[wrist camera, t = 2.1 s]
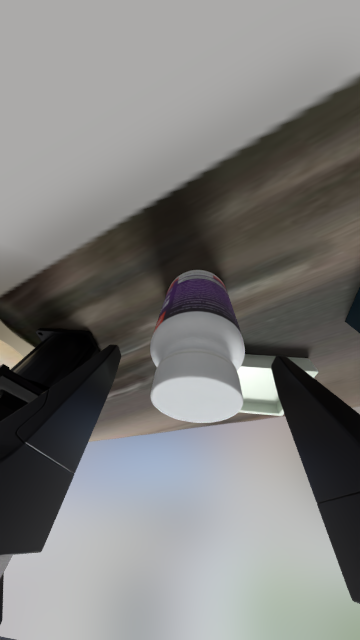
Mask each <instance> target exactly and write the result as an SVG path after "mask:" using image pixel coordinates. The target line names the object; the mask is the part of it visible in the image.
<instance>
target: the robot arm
mask: <svg viewBox="0 0 360 640" xmlns="http://www.w3.org/2000/svg"><path fill="white" fill-rule="evenodd" d="M36 334H37V335H38V337H39V338H40V339H41V341H42V342H41V343H40V344H39V345H38V346H37V347H36V348H35V349H33V350H32V351H31V352H30V353H29V354H28V355H27V356H25V357H24V358H23V359H22V360H21V361H20V362H19V363H17V364H16V365H15V366H14V367H13V368H12V369H11V370H10V369H9V367H7V366H6V365H4V364H3V365H0V624H1V622H2V609H3V606H2V605H3V574H4V571H5V569H6V567H7V565H8V563H9V561H10V559H11V557H12V555H15V554H26V553H38V552H41V551H42V549H43V547H44V545H45V542H46V540H47V538H48V535H49V533H50V531H51V528H52V526H53V524H54V520H55V519H56V516H57V514H58V512H59V509H60V507H61V505H62V502H63V500H64V498H65V495H66V493H67V490H68V488H69V486H70V483H71V481H72V479H73V476H74V473H75V471H76V469H77V467H78V464H79V462H80V460H81V457H82V455H83V453H84V450H85V448H86V445H87V443H88V441H89V439H90V436H91V434H92V431H93V429H94V427H95V424H96V422H97V420H98V417H99V415H100V413H101V410H102V408H103V406H104V403H105V401H106V399H107V396H108V394H109V392H110V389H111V387H112V384H113V382H114V379H115V375H116V372H117V369H118V365H119V362H120V359H121V353H120V350H119V347H118V345H109V346H108V347H106V348H105V349H104V350H102V351H101V352H99V350H98V348H97V346H96V343H95V341H94V339H93V336H92V334H91V333H90V332H88V331H76V330H59V329H43V328H40V329H38V330H37V331H36ZM271 370H272V374H273V378H274V382H275V386H276V390H277V394H278V397H279V400H280V403H281V406H282V408H283V411H284V414H285V417H286V419H287V422H288V425H289V428H290V430H291V433H292V436H293V439H294V441H295V444H296V447H297V450H298V452H299V455H300V458H301V461H302V463H303V466H304V469H305V472H306V474H307V477H308V480H309V483H310V486H311V488H312V491H313V494H314V497H315V499H316V502H317V505H318V508H319V511H320V513H321V516H322V519H323V522H324V524H325V527H326V530H327V533H328V535H329V538H330V541H331V544H332V547H333V549H334V552H335V555H336V558H337V560H338V563H339V566H340V569H341V571H342V574H343V577H344V579H345V582H346V585H347V588H348V590H349V593H350V595H351V598H352V600H353V601H354V602H357V603H359V604H360V414H359V413H357V412H356V411H355V410H353V409H352V408H351V407H350V406H348V405H347V404H346V403H345V402H343V401H342V400H341V399H340V398H338V397H337V396H336V395H334V394H333V393H332V392H331V391H329V390H328V389H327V388H326V387H324V386H323V385H322V384H321V383H319V382H318V381H317V380H315V379H314V378H313V377H312V376H310V375H309V374H308V373H307V372H305V371H304V370H303V369H302V368H300V367H299V366H298V365H296V364H295V363H294V362H293V361H291V360H290V359H289V358H288V357H286V356H283V355H277V356H276V357H275V359H274V361H273V363H272V365H271ZM0 640H15V639H10V638H5V637H0Z"/></svg>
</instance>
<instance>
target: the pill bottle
mask: <svg viewBox="0 0 360 640" xmlns="http://www.w3.org/2000/svg"><path fill="white" fill-rule="evenodd" d="M150 351H151V356H152V359H153V362H154V363H155V365H156V367H157V369H156V371H155V376H154V381H153V385H152V389H151V400H152V403H153V404H154V406H155V407H156V408H157V409H158V410H159V411H161V412H162V413H164V414H166V415H168V416H170V417H172V418H175V419H178V420H183V421H188V422H195V423H210V422H217V421H221V420H225V419H228V418H230V417H232V416H234V415H235V414H237V413H238V412H239V411H240V410H241V408H242V406H243V395H242V390H241V385H240V379H239V375H238V373H237V371H238V369H239V368H240V367H241V365H242V363H243V360H244V356H245V346H244V341H243V338H242V334H241V331H240V328H239V325H238V322H237V319H236V317H235V314H234V311H233V308H232V305H231V302H230V299H229V295H228V293H227V290H226V288H225V286H224V284H223V282H222V281H221V280H220V279H219V278H218V277H217V276H216V275H214V274H213V273H211V272H208V271H204V270H192V271H188V272H185V273H183V274H181V275H180V276H178V277H177V278H176V279H175V280H174V281H173V282H172V283H171V285H170V287H169V289H168V292H167V294H166V298H165V301H164V303H163V306H162V310H161V313H160V315H159V319H158V322H157V324H156V327H155V330H154V333H153V336H152V340H151V346H150Z"/></svg>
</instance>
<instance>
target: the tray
mask: <svg viewBox="0 0 360 640" xmlns="http://www.w3.org/2000/svg"><path fill="white" fill-rule="evenodd" d="M275 357H276V356H266V355H251V354H245V356H244V360H243V363H242V365H241V367H240V368H239V369H238V371H237V373H238V375H239V379H240V385H241V390H242V395H243V406H242V408H241V410H240V411H239V412H243V413H254V414H265V415H276V416H282V415H283V414H284V411H283V408H282V406H281V403H280V400H279V397H278V394H277V390H276V386H275V382H274V378H273V374H272V370H271V365H272V363H273V361H274V359H275ZM288 358H289V359H290V360H291V361H293V362H294V363H295V364H296V365H298V366H299V367H300V368H302V369H303V370H304V371H305V372H307V373H308V374H309V375H310V376H312V377H313V378H314V377H315V376H316V374H317V373H318V370H317V369H316V368H315V366H314V365H313V364H312V362H311V361H310V359H309V358H296V357H288Z"/></svg>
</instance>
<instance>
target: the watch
mask: <svg viewBox="0 0 360 640" xmlns="http://www.w3.org/2000/svg"><path fill="white" fill-rule="evenodd" d="M345 322H346V323H348V324H349V325H350V326H351V327H353V328H354V329H355V330H356V331H358V332H359V333H360V288H359V291H358V293H357V295H356V298H355V300H354V302H353V304H352V307H351V309H350V311H349V314H348V316H347V318H346V321H345Z"/></svg>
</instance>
